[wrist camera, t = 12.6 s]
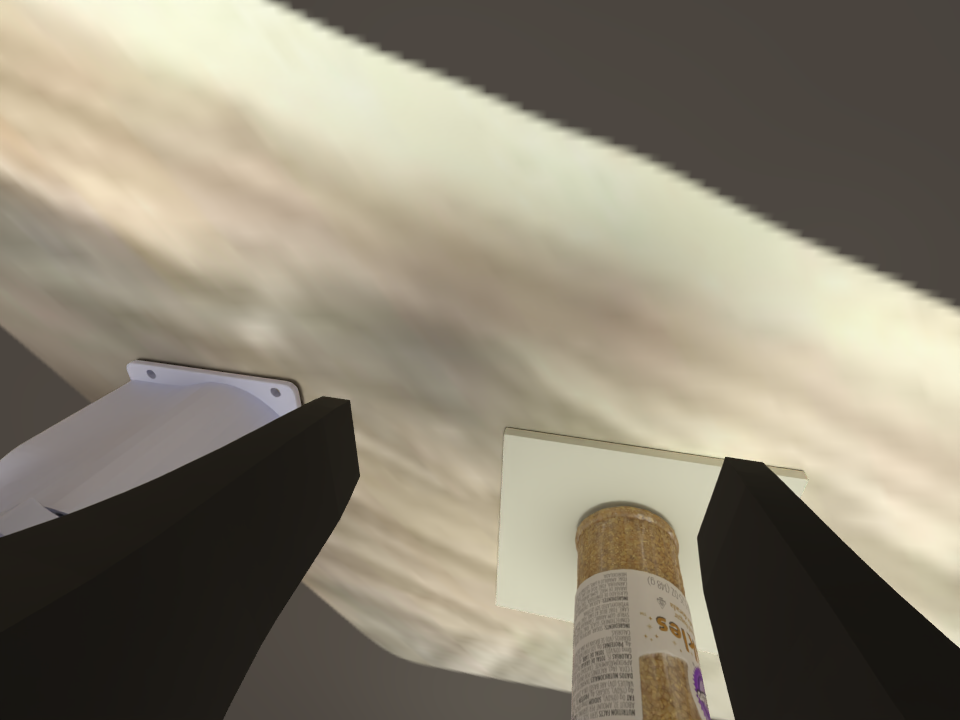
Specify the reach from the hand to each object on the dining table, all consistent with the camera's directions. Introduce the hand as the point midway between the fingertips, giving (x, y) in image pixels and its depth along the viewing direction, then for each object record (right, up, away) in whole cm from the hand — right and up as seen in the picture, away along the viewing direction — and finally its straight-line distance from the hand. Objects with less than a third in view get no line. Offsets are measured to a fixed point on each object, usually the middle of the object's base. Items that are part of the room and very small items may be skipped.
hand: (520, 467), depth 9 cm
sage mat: (+6, -7, +13) cm, 16 cm away
